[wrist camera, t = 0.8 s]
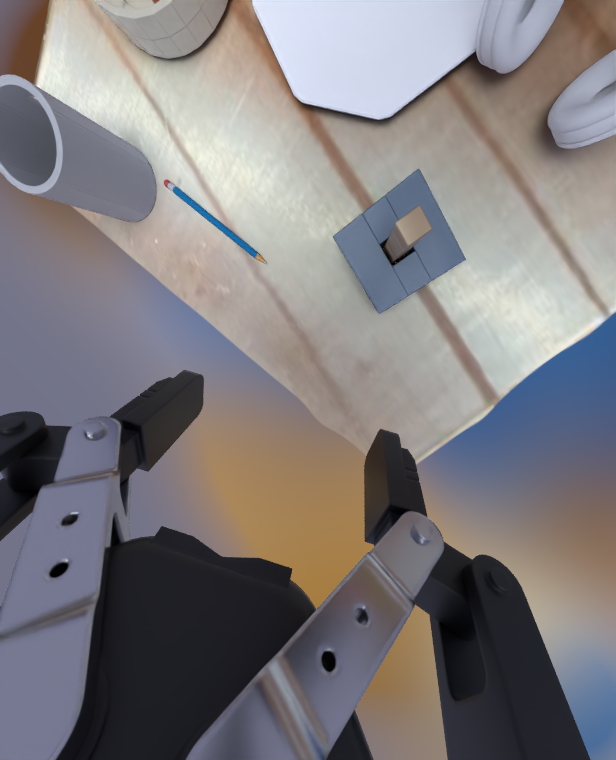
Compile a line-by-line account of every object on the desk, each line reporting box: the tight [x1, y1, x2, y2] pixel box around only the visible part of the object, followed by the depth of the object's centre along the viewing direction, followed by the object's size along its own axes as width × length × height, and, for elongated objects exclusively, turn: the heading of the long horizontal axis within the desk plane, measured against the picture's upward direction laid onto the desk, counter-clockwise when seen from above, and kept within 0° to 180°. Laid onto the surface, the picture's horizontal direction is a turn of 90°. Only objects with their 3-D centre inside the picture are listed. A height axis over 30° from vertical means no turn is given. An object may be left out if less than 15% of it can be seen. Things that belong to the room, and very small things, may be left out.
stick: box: [383, 205, 432, 264], centre depth 25 cm, size 2×2×16 cm
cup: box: [0, 74, 156, 222], centre depth 31 cm, size 9×9×12 cm
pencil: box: [164, 180, 267, 264], centre depth 35 cm, size 1×17×1 cm, turn 54°
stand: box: [333, 169, 466, 314], centre depth 30 cm, size 10×10×6 cm
